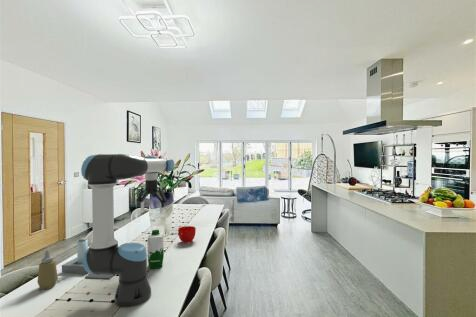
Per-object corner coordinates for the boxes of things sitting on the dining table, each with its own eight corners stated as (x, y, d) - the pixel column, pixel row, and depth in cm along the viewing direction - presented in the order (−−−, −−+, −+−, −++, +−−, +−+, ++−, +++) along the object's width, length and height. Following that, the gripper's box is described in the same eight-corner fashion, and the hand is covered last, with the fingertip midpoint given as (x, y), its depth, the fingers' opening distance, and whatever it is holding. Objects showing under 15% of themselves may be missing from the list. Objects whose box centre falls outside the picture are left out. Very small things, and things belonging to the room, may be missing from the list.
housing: (88, 273, 138) (88, 266, 138) (61, 272, 140) (61, 265, 140) (114, 256, 162) (114, 250, 162) (92, 255, 164) (92, 249, 164)
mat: (109, 279, 131) (109, 278, 131) (84, 278, 133) (84, 277, 133) (124, 267, 145) (124, 266, 145) (102, 266, 147) (102, 265, 147)
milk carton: (163, 261, 152) (163, 228, 152) (163, 268, 143) (163, 233, 143) (148, 263, 150) (148, 230, 150) (147, 270, 141) (146, 234, 141)
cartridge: (83, 270, 142) (83, 240, 142) (75, 270, 143) (74, 240, 143) (90, 266, 147) (89, 237, 147) (82, 266, 148) (81, 237, 148)
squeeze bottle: (55, 281, 130) (54, 246, 130) (60, 285, 125) (59, 249, 125) (35, 287, 124) (34, 250, 124) (39, 292, 119) (39, 254, 119)
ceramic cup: (172, 245, 180) (172, 231, 180) (183, 238, 197) (182, 225, 197) (189, 247, 177) (188, 232, 177) (198, 239, 194) (198, 226, 194)
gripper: (171, 179, 165) (172, 211, 165) (137, 179, 170) (138, 210, 170) (166, 180, 157) (166, 214, 157) (130, 180, 162) (131, 213, 163)
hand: (151, 212), depth 164 cm, fingers open, 13 cm apart
